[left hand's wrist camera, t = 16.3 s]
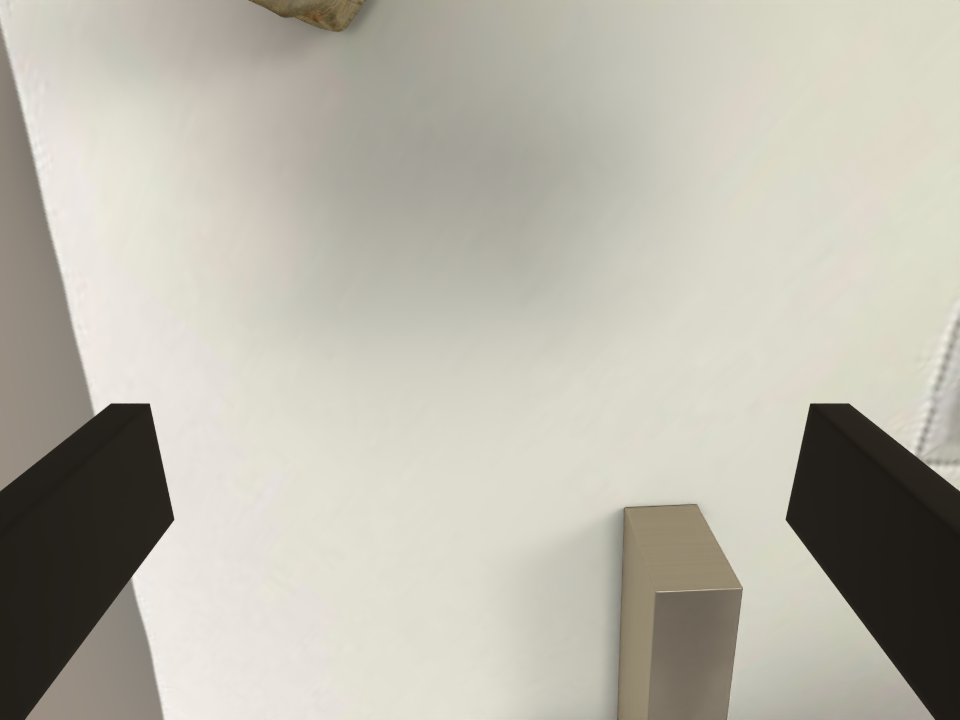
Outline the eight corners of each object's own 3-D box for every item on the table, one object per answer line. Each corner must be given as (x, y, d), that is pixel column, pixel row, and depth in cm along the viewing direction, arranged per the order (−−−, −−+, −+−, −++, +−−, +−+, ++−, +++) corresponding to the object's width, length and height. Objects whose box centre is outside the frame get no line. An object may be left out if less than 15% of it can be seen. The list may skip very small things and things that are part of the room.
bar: (624, 507, 45) (655, 591, 37) (697, 504, 45) (743, 587, 37) (616, 752, 54) (639, 862, 46) (676, 750, 54) (710, 859, 46)
